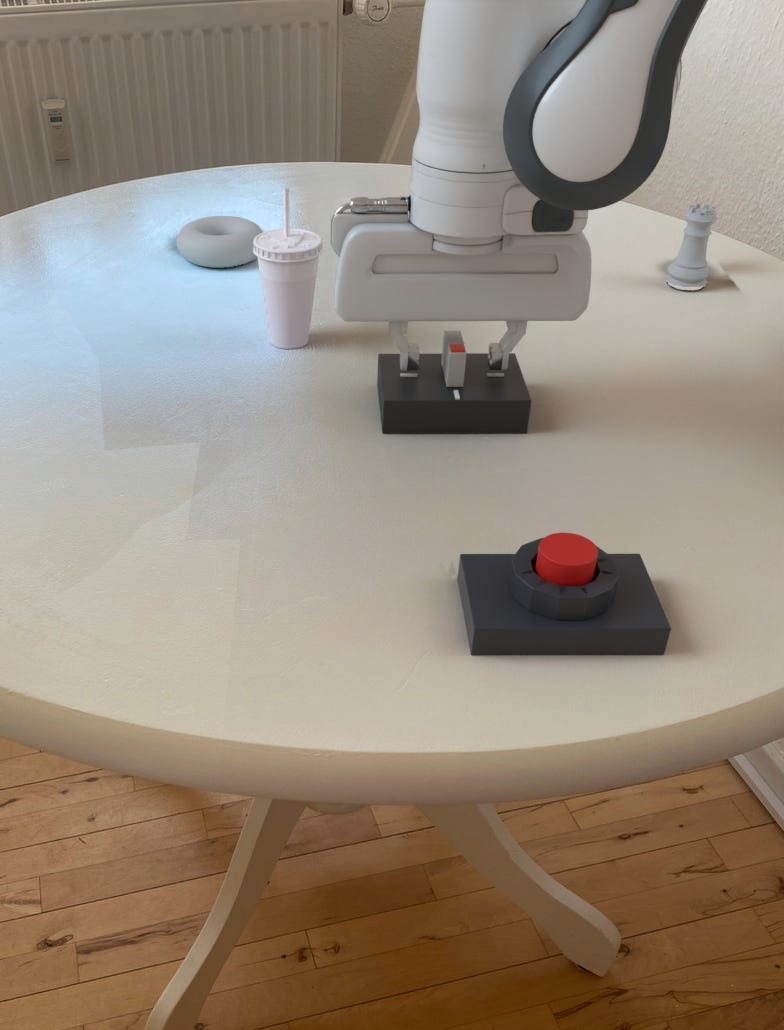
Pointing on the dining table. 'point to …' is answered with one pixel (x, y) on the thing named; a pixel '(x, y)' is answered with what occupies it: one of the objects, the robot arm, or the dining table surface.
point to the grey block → (453, 358)
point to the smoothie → (288, 279)
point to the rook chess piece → (693, 249)
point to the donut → (218, 241)
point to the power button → (566, 559)
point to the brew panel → (452, 397)
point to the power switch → (560, 607)
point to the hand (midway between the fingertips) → (452, 367)
